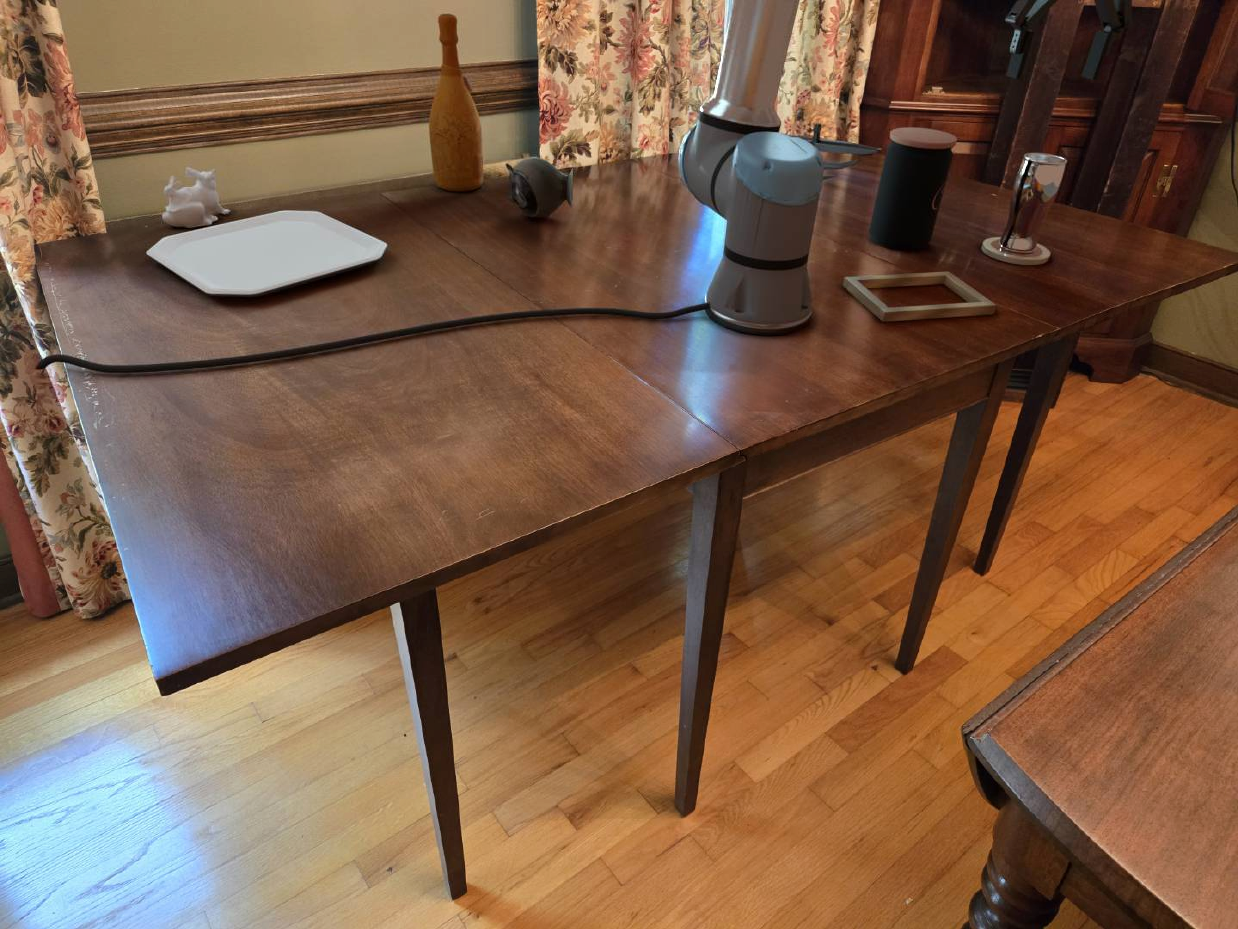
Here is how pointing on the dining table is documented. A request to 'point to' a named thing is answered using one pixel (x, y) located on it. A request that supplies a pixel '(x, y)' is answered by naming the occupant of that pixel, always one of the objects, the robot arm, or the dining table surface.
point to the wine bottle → (454, 120)
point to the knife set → (838, 150)
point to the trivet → (998, 253)
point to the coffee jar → (911, 188)
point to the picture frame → (972, 308)
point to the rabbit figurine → (193, 201)
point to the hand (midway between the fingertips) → (1051, 77)
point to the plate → (266, 253)
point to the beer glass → (1031, 200)
